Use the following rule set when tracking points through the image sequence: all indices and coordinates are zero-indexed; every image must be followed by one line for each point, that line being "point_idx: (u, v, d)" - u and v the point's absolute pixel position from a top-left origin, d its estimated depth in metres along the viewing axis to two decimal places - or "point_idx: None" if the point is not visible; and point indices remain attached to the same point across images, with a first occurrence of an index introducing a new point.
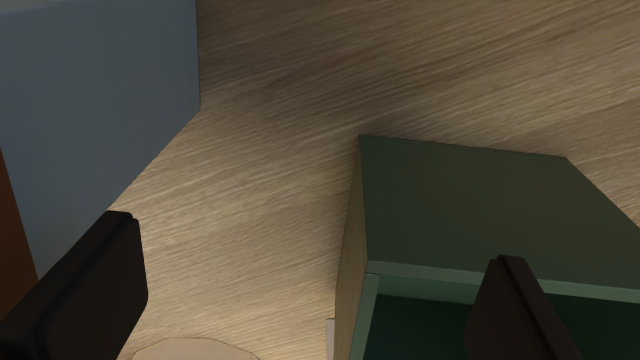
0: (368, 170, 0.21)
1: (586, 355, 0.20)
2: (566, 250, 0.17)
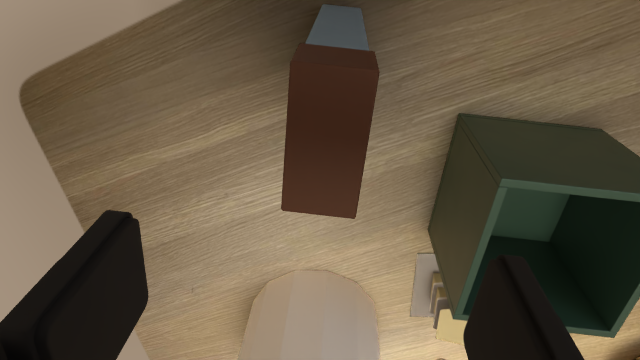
0: (477, 134, 0.32)
1: (619, 253, 0.31)
2: (612, 177, 0.28)
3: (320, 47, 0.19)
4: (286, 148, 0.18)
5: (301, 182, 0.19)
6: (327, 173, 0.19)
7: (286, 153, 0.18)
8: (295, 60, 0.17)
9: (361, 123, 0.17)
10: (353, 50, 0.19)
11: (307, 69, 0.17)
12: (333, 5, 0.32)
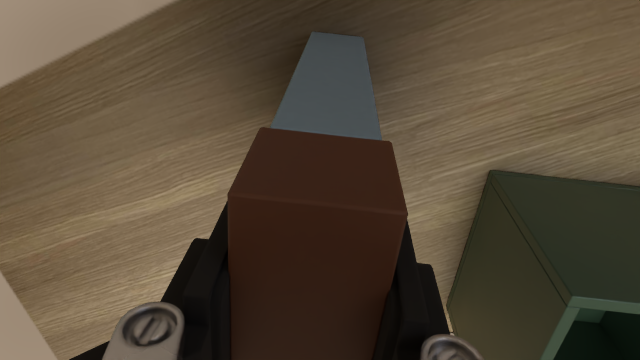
0: (520, 207, 0.24)
1: None
2: None
3: (295, 137, 0.11)
4: (231, 331, 0.10)
5: None
6: None
7: (231, 338, 0.10)
8: (238, 190, 0.08)
9: (370, 297, 0.09)
10: (354, 142, 0.11)
11: (261, 207, 0.08)
12: (326, 33, 0.24)
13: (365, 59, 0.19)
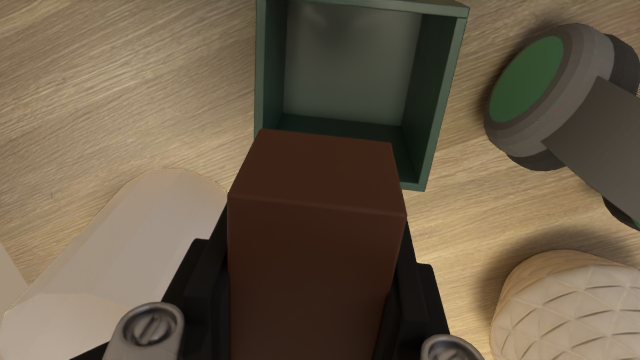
0: None
1: (427, 100, 0.30)
2: None
3: (295, 139, 0.11)
4: (230, 332, 0.10)
5: None
6: None
7: (231, 339, 0.10)
8: (237, 191, 0.08)
9: (369, 298, 0.09)
10: (354, 143, 0.11)
11: (261, 209, 0.08)
12: None
13: None
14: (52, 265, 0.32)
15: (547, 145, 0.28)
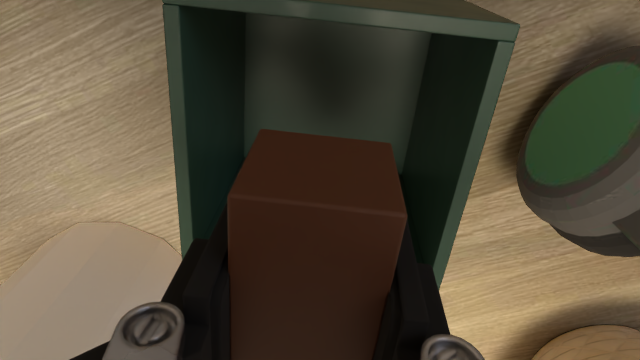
0: None
1: (442, 158, 0.20)
2: (387, 3, 0.16)
3: (295, 139, 0.11)
4: (231, 332, 0.10)
5: None
6: None
7: (231, 339, 0.10)
8: (237, 192, 0.08)
9: (370, 299, 0.09)
10: (354, 143, 0.11)
11: (261, 209, 0.08)
12: None
13: None
14: None
15: (626, 231, 0.19)
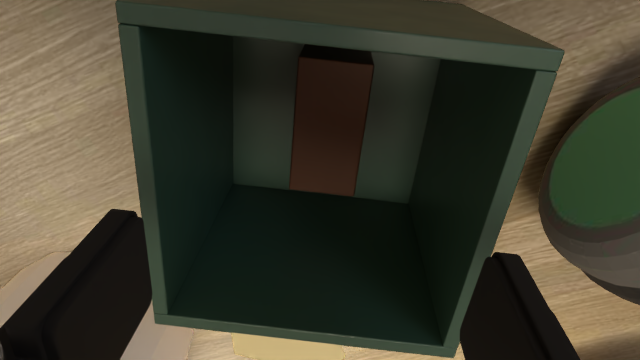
0: None
1: (459, 199, 0.17)
2: (397, 22, 0.13)
3: (323, 46, 0.22)
4: (294, 133, 0.21)
5: (306, 163, 0.22)
6: (329, 155, 0.21)
7: (294, 137, 0.21)
8: (302, 56, 0.19)
9: (359, 110, 0.20)
10: None
11: (312, 63, 0.19)
12: None
13: None
14: None
15: None
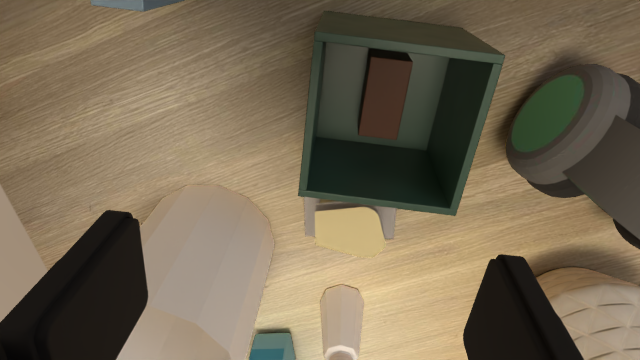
0: (325, 17, 0.33)
1: (459, 132, 0.32)
2: (432, 41, 0.29)
3: (380, 50, 0.37)
4: (364, 100, 0.36)
5: (370, 119, 0.37)
6: (384, 114, 0.37)
7: (364, 103, 0.37)
8: (373, 56, 0.35)
9: (402, 87, 0.36)
10: (397, 52, 0.37)
11: (378, 60, 0.35)
12: None
13: None
14: None
15: (569, 176, 0.31)
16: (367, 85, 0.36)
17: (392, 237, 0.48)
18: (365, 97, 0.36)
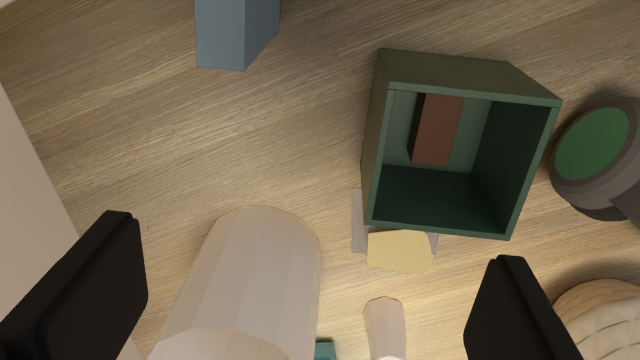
0: (386, 58, 0.36)
1: (512, 164, 0.35)
2: (493, 85, 0.31)
3: None
4: (418, 131, 0.39)
5: (422, 148, 0.40)
6: (436, 144, 0.40)
7: (417, 134, 0.39)
8: None
9: (455, 120, 0.38)
10: None
11: (433, 95, 0.37)
12: None
13: None
14: (183, 300, 0.38)
15: (616, 204, 0.34)
16: (421, 118, 0.38)
17: (434, 252, 0.51)
18: (419, 129, 0.39)
